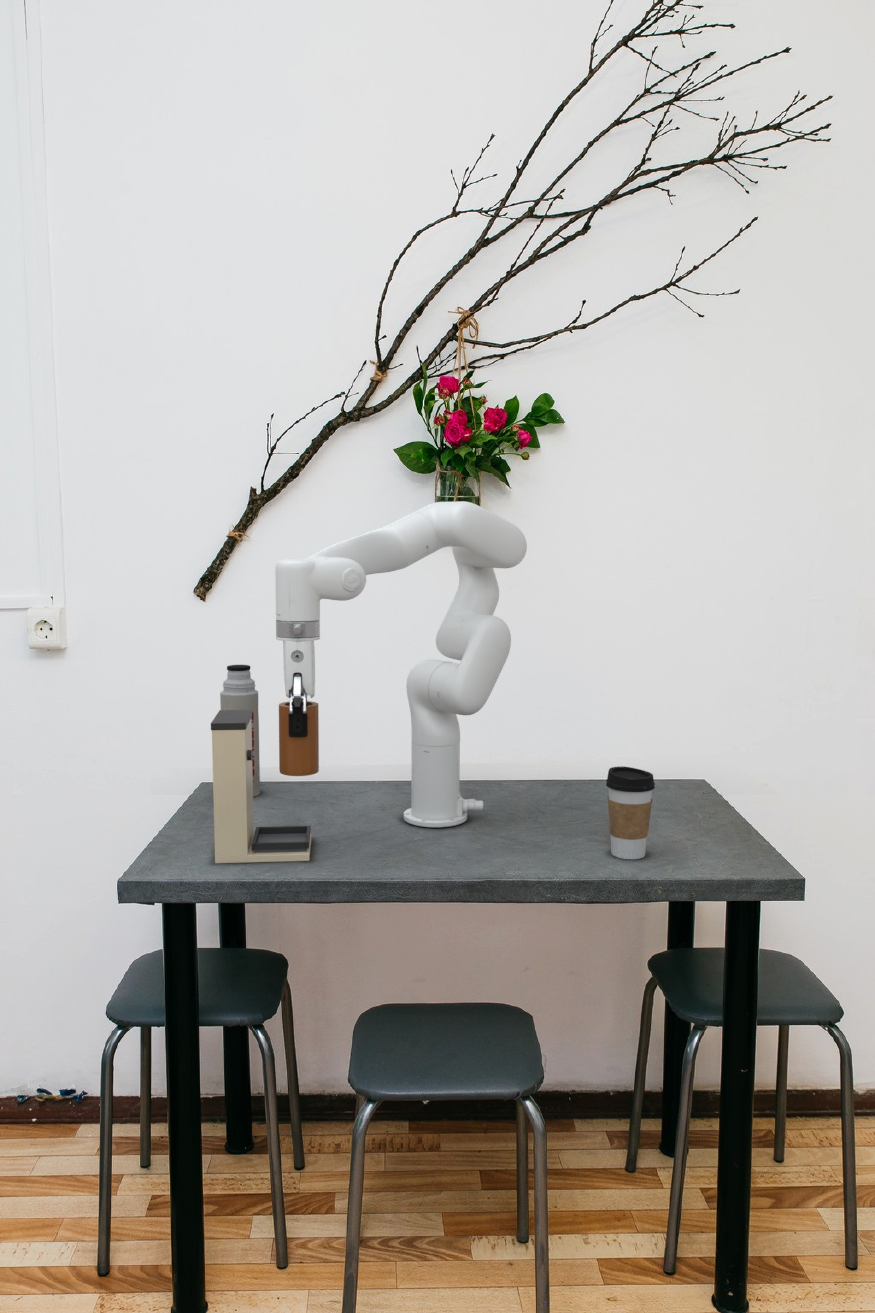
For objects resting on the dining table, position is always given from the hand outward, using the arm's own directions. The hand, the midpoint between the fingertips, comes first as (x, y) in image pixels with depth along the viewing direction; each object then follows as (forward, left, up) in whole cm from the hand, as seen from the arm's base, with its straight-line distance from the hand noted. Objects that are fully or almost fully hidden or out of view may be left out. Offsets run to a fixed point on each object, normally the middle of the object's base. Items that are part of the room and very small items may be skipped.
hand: (298, 731), depth 173 cm
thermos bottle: (+14, -40, -22) cm, 48 cm away
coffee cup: (-58, +6, -22) cm, 62 cm away
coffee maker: (+6, -1, -22) cm, 23 cm away
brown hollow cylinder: (0, 0, -7) cm, 7 cm away
